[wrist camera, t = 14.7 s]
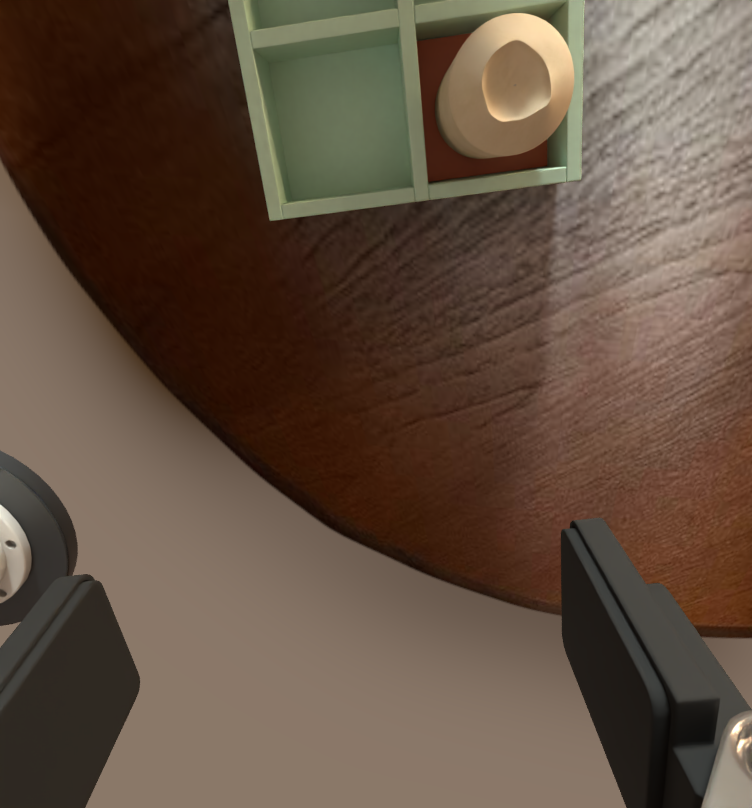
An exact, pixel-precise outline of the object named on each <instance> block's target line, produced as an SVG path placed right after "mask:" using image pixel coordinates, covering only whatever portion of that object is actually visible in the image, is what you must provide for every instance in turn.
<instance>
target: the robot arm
mask: <svg viewBox="0 0 752 808" xmlns="http://www.w3.org/2000/svg"><path fill="white" fill-rule="evenodd" d="M31 562H32V555H31V549H30V545H29V542H28V540H27V537H26V534H25V533H24V531H23V529H22V528H21V526H20V525H19V523H18V522H17V521H16V519H15V518H14V517H13V516H12V515H11V514H10V513H9V511H8V510H6V509H5V508H4V507H3V506H2V505H0V603H3V602H4V601H6V600H7V599H9V598H10V597H12V596H13V595H14V594H15V593H16V592H17V591H18V590H19V589H20V588H21V586H22V585H23V584H24V582H25V581H26V579H27V578H28V575H29V573H30V570H31ZM561 589H562V637H563V643H564V648H565V651H566V654H567V657H568V659H569V661H570V664H571V667H572V670H573V672H574V675H575V677H576V679H577V682H578V685H579V687H580V690H581V692H582V695H583V697H584V700H585V703H586V705H587V708H588V710H589V713H590V716H591V718H592V721H593V723H594V726H595V728H596V731H597V733H598V736H599V738H600V741H601V744H602V746H603V749H604V751H605V754H606V756H607V759H608V761H609V764H610V767H611V769H612V772H613V774H614V777H615V779H616V782H617V784H618V787H619V789H620V792H621V795H622V797H623V800H624V802H625V804H626V807H627V808H752V709H751V708H750V707H749V705H748V704H747V702H746V701H745V699H744V698H743V697H742V695H741V694H740V692H739V691H738V690H737V688H736V687H735V685H734V684H733V682H732V681H731V680H730V678H729V677H728V675H727V674H726V672H725V671H724V669H723V668H722V667H721V665H720V664H719V662H718V661H717V659H716V658H715V657H714V655H713V654H712V652H711V651H710V649H709V648H708V647H707V645H706V644H705V642H704V641H703V640H702V638H701V636H700V635H699V634H698V632H697V631H696V629H695V628H694V626H693V625H692V624H691V622H690V621H689V619H688V618H687V616H686V615H685V614H684V612H683V611H682V609H681V608H680V606H679V605H678V604H677V602H676V601H675V599H674V598H673V596H672V595H671V594H670V592H669V591H668V590H667V589H666V587H665V586H664V585H662V584H660V583H653V584H645V582H644V580H643V579H642V577H641V576H640V574H639V573H638V571H637V570H636V568H635V567H634V565H633V564H632V562H631V561H630V559H629V558H628V556H627V555H626V553H625V551H624V550H623V548H622V547H621V545H620V544H619V542H618V541H617V539H616V538H615V536H614V535H613V533H612V532H611V530H610V529H609V527H608V525H607V524H606V522H605V521H604V520H603V519H602V518H593V519H584V520H575V521H572V522H571V523H570V529H563V530H562V531H561ZM139 687H140V677H139V674H138V671H137V669H136V666H135V664H134V661H133V659H132V656H131V654H130V652H129V649H128V647H127V644H126V642H125V639H124V637H123V635H122V632H121V630H120V627H119V625H118V622H117V620H116V617H115V615H114V612H113V610H112V607H111V605H110V602H109V600H108V598H107V596H106V593H105V590H104V588H103V586H102V584H101V583H100V582H99V581H95V580H94V578H93V577H92V576H91V575H88V574H84V575H74V576H65V577H60V578H57V579H56V580H55V581H54V582H53V583H52V584H51V585H50V587H49V588H48V589H47V590H46V592H45V593H44V594H43V595H42V597H41V598H40V599H39V600H38V602H37V603H36V604H35V605H34V607H33V608H32V609H31V610H30V612H29V613H28V614H27V615H26V616H25V618H24V619H23V620H22V621H21V623H20V624H19V625H18V627H17V628H16V629H15V630H14V631H13V633H12V634H11V635H10V637H9V638H8V639H7V640H6V641H5V643H4V644H3V645H2V646H1V648H0V808H85V807H86V804H87V802H88V800H89V798H90V796H91V793H92V792H93V789H94V787H95V785H96V783H97V781H98V779H99V776H100V774H101V772H102V770H103V768H104V766H105V764H106V762H107V759H108V757H109V755H110V753H111V750H112V749H113V746H114V744H115V742H116V740H117V738H118V736H119V734H120V732H121V729H122V727H123V725H124V723H125V721H126V719H127V716H128V714H129V712H130V710H131V708H132V706H133V704H134V702H135V699H136V697H137V694H138V692H139Z"/></svg>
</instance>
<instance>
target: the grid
mask: <svg viewBox="0 0 752 808" xmlns="http://www.w3.org/2000/svg"><path fill="white" fill-rule="evenodd" d="M228 4H229V9H230V14H231V20H232V25H233V30H234V35H235V41H236V46H237V51H238V56H239V62H240V67H241V72H242V77H243V83H244V88H245V93H246V98H247V104H248V109H249V114H250V119H251V125H252V130H253V135H254V140H255V146H256V151H257V156H258V161H259V167H260V172H261V177H262V183H263V188H264V193H265V198H266V204H267V209H268V214H269V219H270V221H275V220H282V219H290V218H297V217H305V216H313V215H320V214H328V213H336V212H343V211H351V210H359V209H366V208H374V207H381V206H389V205H397V204H404V203H412V202H415V201H416V202H420V201H427V200H429V199H430V200H435V199H442V198H450V197H458V196H465V195H473V194H481V193H488V192H496V191H503V190H511V189H519V188H526V187H534V186H542V185H549V184H557V183H565V182H572V181H580V180H581V158H582V103H583V49H584V0H228ZM510 13H524V14H530V15H534V16H537V17H539V18H541V19H543V20H545V21H546V22H548V23H549V24H551V25H552V26H553V27H554V28H555V29H556V30H557V31H558V32H559V33H560V35H561V36H562V37H563V39H564V41H565V42H566V44H567V46H568V48H569V51H570V54H571V57H572V61H573V67H574V88H573V94H572V98H571V102H570V105H569V108H568V110H567V112H566V114H565V117H564V118H563V120H562V122H561V123H560V125H559V126H558V127H557V129H556V130H555V131H554V133H553V134H552V135H551V136H550V137H549V138H548V139H546V140H545V141H544V142H543V143H541V144H540V145H538V146H537V147H535V148H534V149H531V150H529V151H527V152H524V153H521V154H517V155H511V156H503V157H495V158H486V159H475V158H469V157H466V156H463V155H461V154H459V153H457V152H456V151H454V150H453V149H452V148H451V147H449V145H448V144H447V143H446V142H445V141H444V139H443V138H442V136H441V134H440V132H439V129H438V127H437V123H436V118H435V100H436V95H437V91H438V88H439V86H440V83H441V81H442V79H443V77H444V75H445V74H446V72H447V70H448V68H449V67H450V65H451V63H452V62H453V60H454V58H455V57H456V55H457V53H458V51H459V50H460V48H461V47H462V45H463V44H464V42H465V41H466V40H467V38H468V37H469V36H470V35H471V34H472V33H473V32H474V31H475V30H476V29H477V28H478V27H480V26H481V25H483V24H484V23H486V22H487V21H489V20H491V19H493V18H495V17H498V16H501V15H504V14H510Z"/></svg>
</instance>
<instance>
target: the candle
mask: <svg viewBox="0 0 752 808" xmlns="http://www.w3.org/2000/svg"><path fill="white" fill-rule="evenodd" d="M573 88H574V67H573V61H572V57H571V54H570V51H569V48H568V46H567V44H566V42H565V41H564V39H563V37H562V36H561V35H560V33H559V32H558V31H557V30H556V29H555V28H554V27H553V26H552V25H551V24H549V23H548V22H546V21H545V20H543V19H541V18H539V17H537V16H534V15H530V14H524V13H510V14H504V15H501V16H498V17H495V18H493V19H491V20H489V21H487V22H486V23H484V24H483V25H481V26H480V27H478V28H477V29H476V30H475V31H474V32H473V33H472V34H471V35H470V36H469V37H468V38H467V40H466V41H465V42H464V44H463V45H462V47H461V48H460V50H459V51H458V53H457V55H456V57H455V58H454V60H453V62H452V63H451V65H450V67H449V68H448V70H447V72H446V74H445V75H444V77H443V79H442V81H441V83H440V86H439V88H438V91H437V95H436V100H435V118H436V123H437V127H438V129H439V132H440V134H441V136H442V138H443V139H444V141H445V142H446V143H447V144H448V145H449V147H451V148H452V149H453V150H454V151H456V152H457V153H459V154H461V155H463V156H466V157H469V158H475V159H486V158H495V157H503V156H511V155H517V154H521V153H524V152H527V151H529V150H531V149H534V148H535V147H537V146H538V145H540V144H541V143H543V142H544V141H545V140H546V139H548V138H549V137H550V136H551V135H552V134H553V133H554V131H555V130H556V129H557V127H558V126H559V125H560V123H561V122H562V120H563V118H564V117H565V114H566V112H567V110H568V108H569V105H570V102H571V98H572V94H573Z"/></svg>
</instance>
